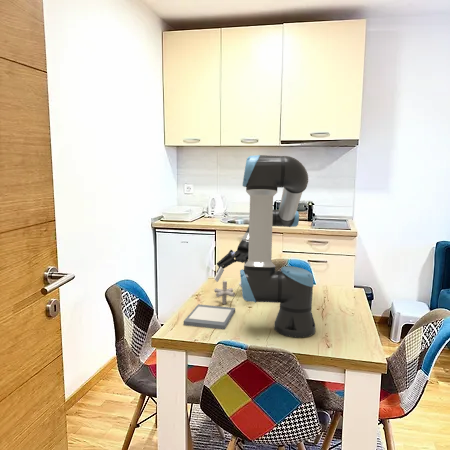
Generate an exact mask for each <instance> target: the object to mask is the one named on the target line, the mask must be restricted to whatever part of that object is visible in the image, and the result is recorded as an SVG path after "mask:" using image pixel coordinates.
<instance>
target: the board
mask: <svg viewBox="0 0 450 450" xmlns="http://www.w3.org/2000/svg"><path fill="white" fill-rule="evenodd" d="M235 313H236V307H231V306H218V305H208V304H197V305H196V306H195V307H194V308H193V309H192V311H191V312H190V313H189V314H188V315H187V316H186V318H185V319H184V320H183V326H188V327H197V328H198V327H200V328H207V329H215V330H217V329H218V330H226V328H227V327H228V325H229V323H230V321H231V320H232V317H233V316H234V314H235Z"/></svg>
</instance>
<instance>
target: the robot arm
mask: <svg viewBox="0 0 450 450" xmlns="http://www.w3.org/2000/svg"><path fill="white" fill-rule="evenodd" d="M308 185H309V174H308V171H307V169H306V167H305V165H303V163H302V162H301V161H300V160H298V159H296V158H295V157H292V156H289V155H266V154H258V155H249V156H248V157H247V158H246V161H245V166H244V174H243V178H242V187H243V188H245V189H246V190H245V192H246V193H247V195H249V216H248V217H249V220H248V227H247V229H246V231H245V232H244V234H243V236H242V238H241V240H240V242H239V244H238V246H237V249H236V251H233V249H230V250H229V252H228V253H227V254H226V255H224V256H223V257H222V258H221V259H220V260H219V261H218V262H217V263H216V265H217V267H218V268H217V270H216V272H215V273H216V274H215V276H214V278H213V279H214V280H215V282H216V283H218V282H219V281H220V279H221V277H222V275H223V274H224V271H225V268H227V267H229V266H230V265H233V263H241V264H244V265H243V268H242V269H240V270H239V275H240V281H239V283H238V286H240V288H241V294H242V299H243V300H244V301H246V302H249V303H250V302H251V303H256V304H257V303H274V304H275V303H277V304H279V310H278V311H277V314H276V317H275V320H274V324H273V329H274V331H275V332H276V333H278V334H280V335H283V336H285V337H289V338H290V337H291V338H297V339H298V338H299V337H301V338H308V337H312V336H313V335H314V334H315V333H316V323H315V319H314V316H313V313H312V312H313V311H312V308H313V307H312V306H313V291H314V289H313V288H314V276H313V274H312V273H311V271H309V270H308V269H304V268H303V267H297V266H292V265H291V266H289V265H287V266H285V265H284V266H282V267H281V268H280V270H276V265H275V264H274V263H273V262H272V252H273V227H287V228H296V227H298V226H299V223H300V222H299V221H300V214H299V210H298V208H299V204H300V201H301V198H302V195H303V193H304V192H305V190H306V189H307V187H308ZM278 188H279V189H280V188H281V189H283V190H282V195H281V200H280V202H279V203H280V204H279V207H278V208H279V209H273V208H274V206H273V205H274V196H276V194H277V193H278Z"/></svg>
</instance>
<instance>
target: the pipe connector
mask: <svg viewBox="0 0 450 450" xmlns="http://www.w3.org/2000/svg"><path fill="white" fill-rule="evenodd" d="M213 290H214V291H213V292H215V297H216V298H220V297H222V298H221V301H222V302H221V304H222V305H227V296H230V297H232V298H234V297H235V296H236V294H235V292H233V291H234V289H233V288H232V287H230V288H228V281H227V280H223V281H222V288H218V287H217V288H216V287H215V288H214V289H213Z"/></svg>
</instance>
